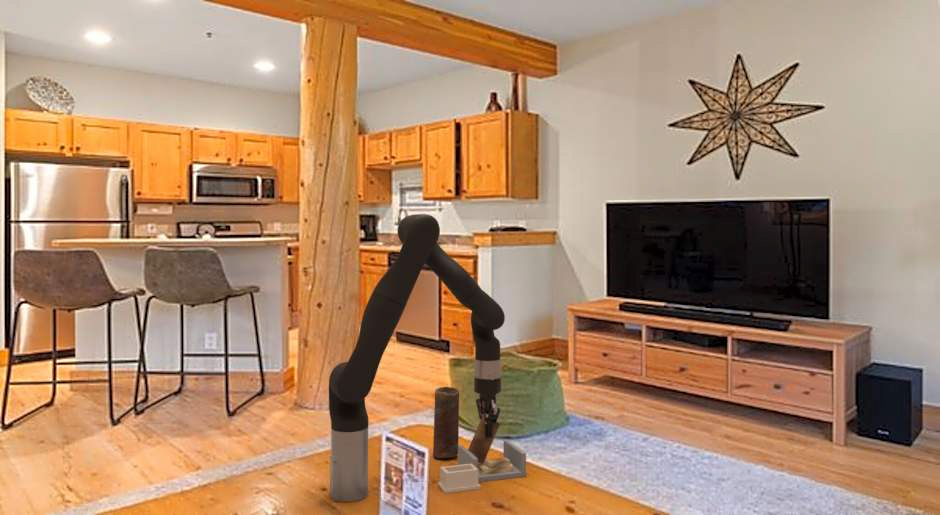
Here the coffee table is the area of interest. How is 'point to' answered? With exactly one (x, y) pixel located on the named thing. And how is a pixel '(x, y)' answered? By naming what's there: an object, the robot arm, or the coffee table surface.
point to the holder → (458, 478)
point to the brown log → (446, 422)
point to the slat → (482, 441)
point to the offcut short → (497, 462)
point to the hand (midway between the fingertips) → (487, 437)
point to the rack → (510, 452)
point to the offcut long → (495, 469)
